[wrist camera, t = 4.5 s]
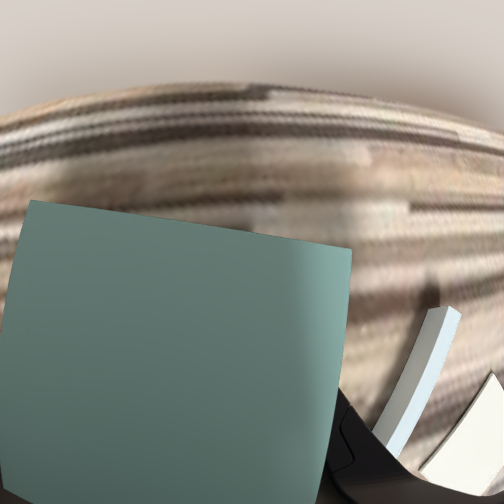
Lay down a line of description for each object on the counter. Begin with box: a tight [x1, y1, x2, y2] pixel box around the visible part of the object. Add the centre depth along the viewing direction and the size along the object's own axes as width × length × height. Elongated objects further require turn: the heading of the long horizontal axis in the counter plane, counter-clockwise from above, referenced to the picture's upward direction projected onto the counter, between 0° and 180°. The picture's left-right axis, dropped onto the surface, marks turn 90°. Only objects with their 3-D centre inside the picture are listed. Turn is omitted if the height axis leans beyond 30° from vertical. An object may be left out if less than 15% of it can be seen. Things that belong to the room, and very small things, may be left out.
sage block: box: [0, 200, 352, 504], centre depth 9 cm, size 5×5×12 cm
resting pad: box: [419, 373, 504, 496], centre depth 16 cm, size 9×9×1 cm
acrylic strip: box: [372, 306, 461, 459], centre depth 15 cm, size 14×1×2 cm, turn 151°
